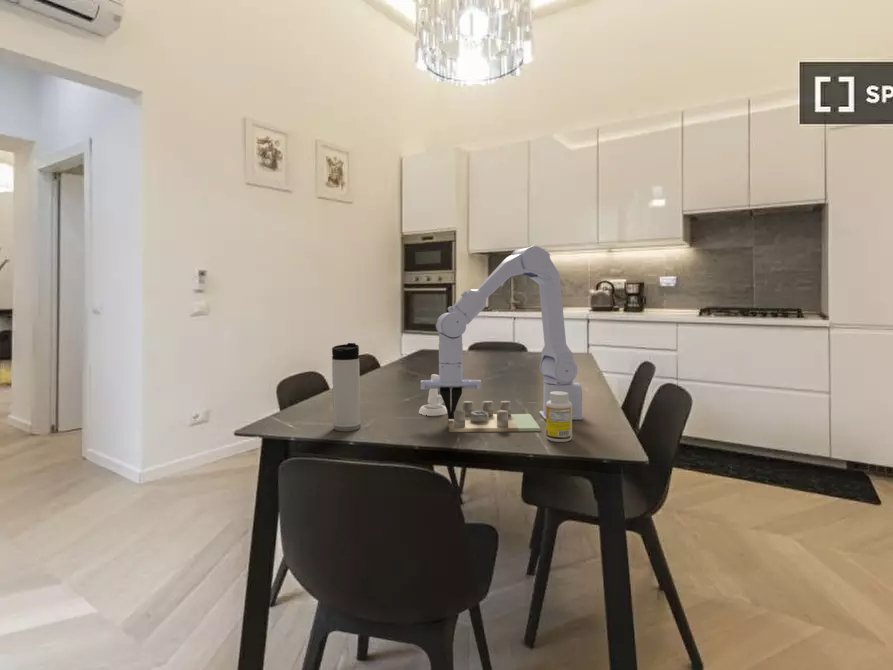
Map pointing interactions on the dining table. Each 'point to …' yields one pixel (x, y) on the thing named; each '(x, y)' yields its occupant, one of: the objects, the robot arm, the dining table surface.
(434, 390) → the hook
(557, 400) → the supplement bottle
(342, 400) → the travel mug
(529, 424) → the felt mat
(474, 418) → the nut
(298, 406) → the dining table surface
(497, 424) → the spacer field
